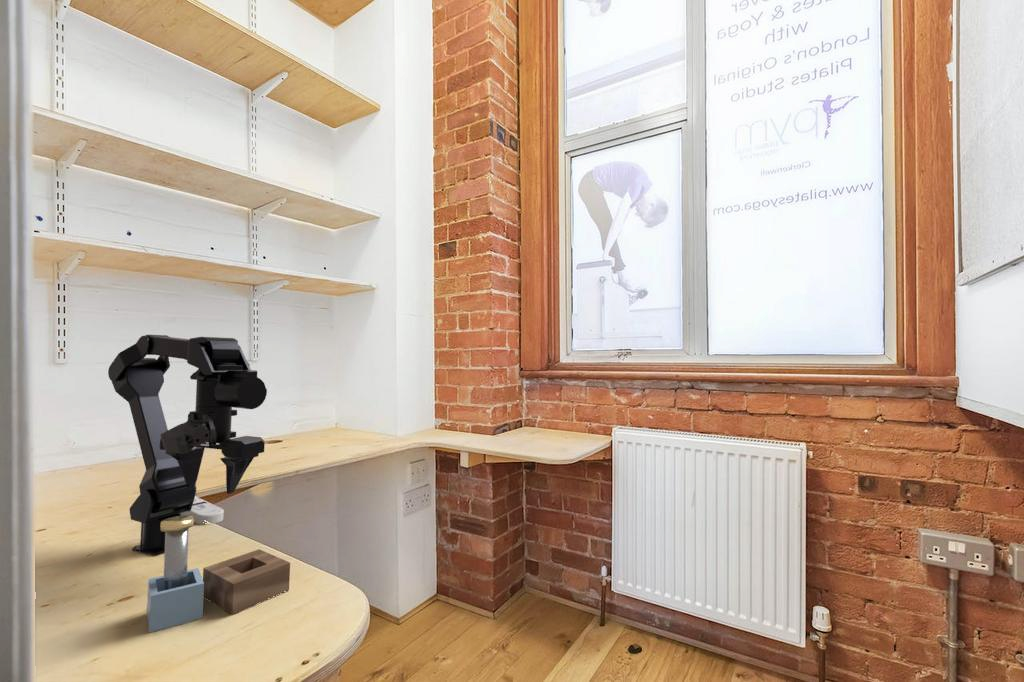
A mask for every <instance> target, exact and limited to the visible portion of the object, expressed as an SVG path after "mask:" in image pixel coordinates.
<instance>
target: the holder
mask: <svg viewBox="0 0 1024 682" xmlns="http://www.w3.org/2000/svg"><path fill="white" fill-rule="evenodd" d="M147 582H148V583H147V603H146V618H147V619H146V620H147V626H148V633H149V634H150V633H154V632H157V631H161V630H165V629H168V628H171V627H176V626H179V625H183V624H186V623H187V624H188V623H190V622H193V621H197V620H201V619H203V615H204V613H203V612H204V598H203V596H204V582H203V575H201V572H200V568H199V567H197V568H192V569H187V585H185V586H181V587H177V588H173V589H169V590H164V591H163V589H164V575H160V576H156V577H150V578H148V581H147Z"/></svg>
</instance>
